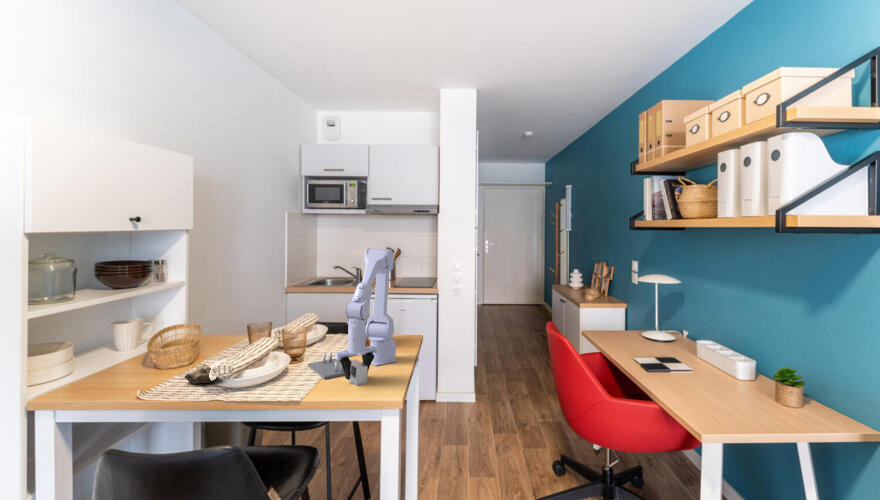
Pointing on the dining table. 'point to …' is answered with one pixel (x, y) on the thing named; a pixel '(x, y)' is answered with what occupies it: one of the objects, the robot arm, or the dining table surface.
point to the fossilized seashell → (199, 375)
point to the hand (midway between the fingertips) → (356, 376)
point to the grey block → (358, 373)
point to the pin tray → (328, 367)
